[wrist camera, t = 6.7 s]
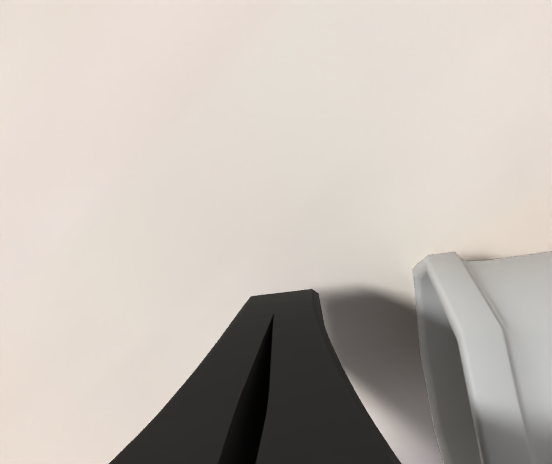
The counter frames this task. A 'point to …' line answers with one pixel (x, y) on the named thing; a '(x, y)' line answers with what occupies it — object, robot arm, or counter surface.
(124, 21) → the counter surface
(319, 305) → the robot arm
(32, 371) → the counter surface
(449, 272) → the tube
